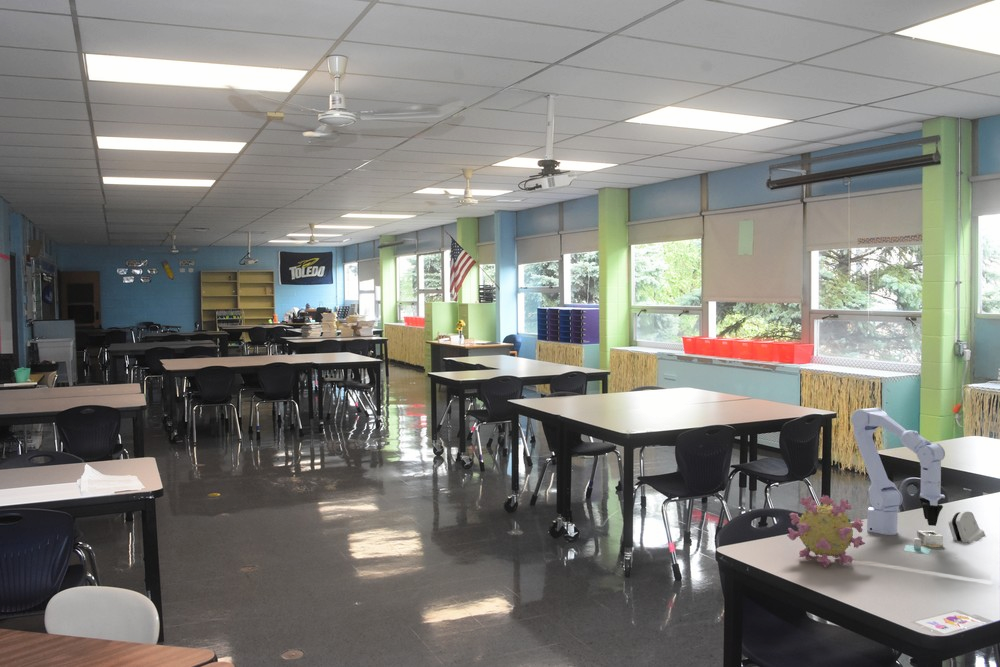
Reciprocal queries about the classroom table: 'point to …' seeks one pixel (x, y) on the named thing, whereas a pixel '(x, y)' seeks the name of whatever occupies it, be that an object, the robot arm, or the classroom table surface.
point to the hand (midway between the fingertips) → (930, 522)
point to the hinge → (965, 527)
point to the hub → (931, 545)
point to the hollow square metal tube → (930, 537)
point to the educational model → (825, 530)
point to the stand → (917, 547)
